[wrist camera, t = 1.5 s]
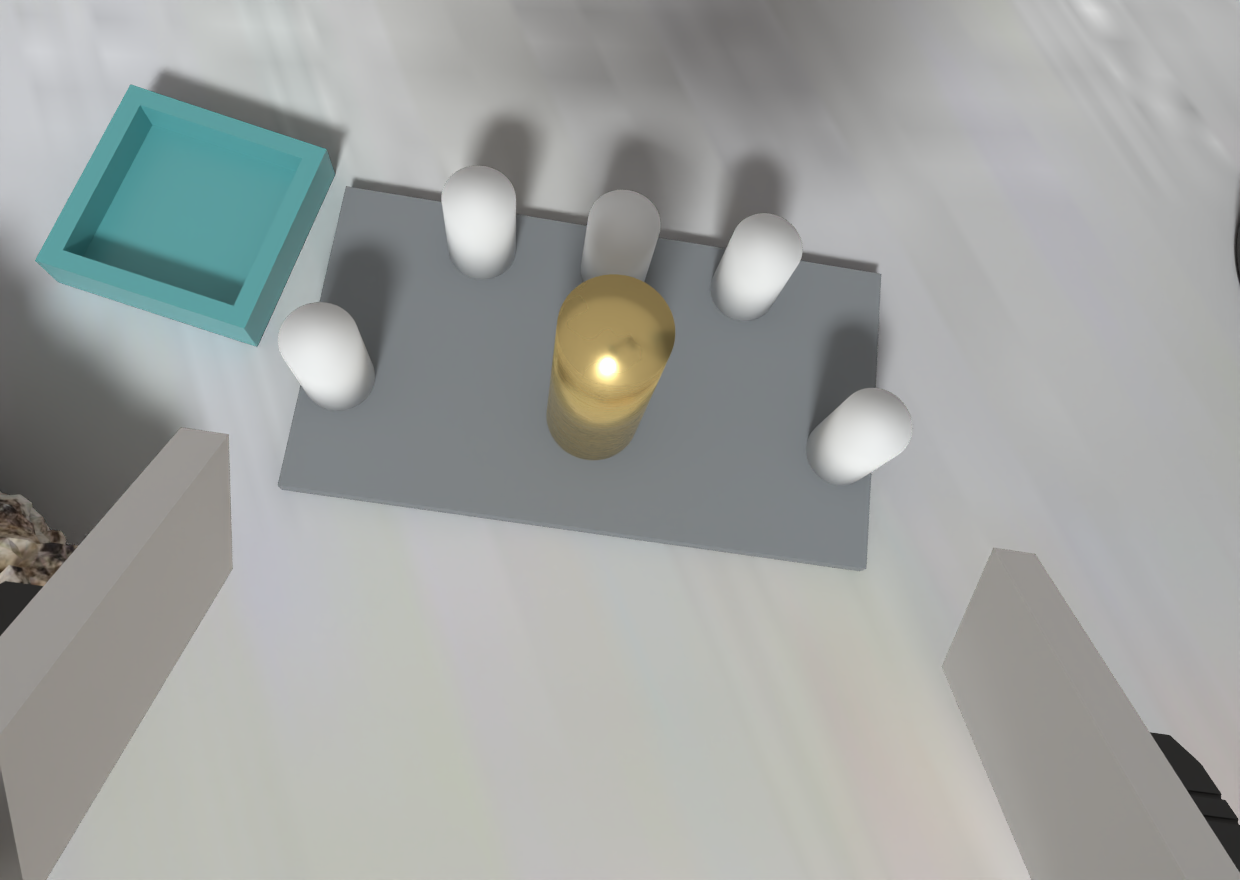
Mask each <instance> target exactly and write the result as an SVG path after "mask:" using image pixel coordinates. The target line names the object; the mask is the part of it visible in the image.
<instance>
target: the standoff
mask: <svg viewBox="0 0 1240 880" xmlns="http://www.w3.org/2000/svg"><path fill="white" fill-rule="evenodd" d="M674 342H675V323H674V318H673V315H672V312H671V310H670V308H669V306H668V304H667V303H666V301H665V300H664V298H663V297H662V296H661V295H660V294H659V293H658V292H657V291H656V290H655V289H654V288H652V287H651V286H650V285H648V284H647V283H645V282H643V281H641V280H639V279H636V278H634V277H630V276H626V275H619V274H609V275H602V276H597V277H594V278H591V279H589V280H587V281H585V282H583V283H581V284H580V285H578V286H577V287H576V288H575V289H574V290H573V291H571V293H570V294H569V295H568V296H567V297H566V299H565V301H564V302H563V304H562V306H561V308H560V311H559V314H558V319H557V327H556V335H555V344H554V353H553V361H552V370H551V378H550V387H549V395H548V404H547V412H546V416H547V425H548V428H549V431H550V433H551V435H552V437H553V439H554V440H555V442H556V443H557V444H558V445H559V446H560V447H561V448H562V449H563V450H564V451H566V452H567V453H569V454H571V455H572V456H575V457H577V458H581V459H585V460H602V459H606V458H609V457H612V456H614V455H616V454H618V453H619V452H621V451H622V450H623V449H624V448H625V447H626V446H627V445H628V444H629V443H630V441H631V440H632V438H633V436H634V434H635V432H636V430H637V428H638V425H639V423H640V421H641V419H642V417H643V414H644V412H645V410H646V408H647V406H648V403H649V401H650V399H651V397H652V394H653V392H654V390H655V388H656V386H657V383H658V381H659V379H660V377H661V374H662V372H663V370H664V368H665V366H666V363H667V361H668V359H669V357H670V354H671V352H672V349H673V346H674Z"/></svg>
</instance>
